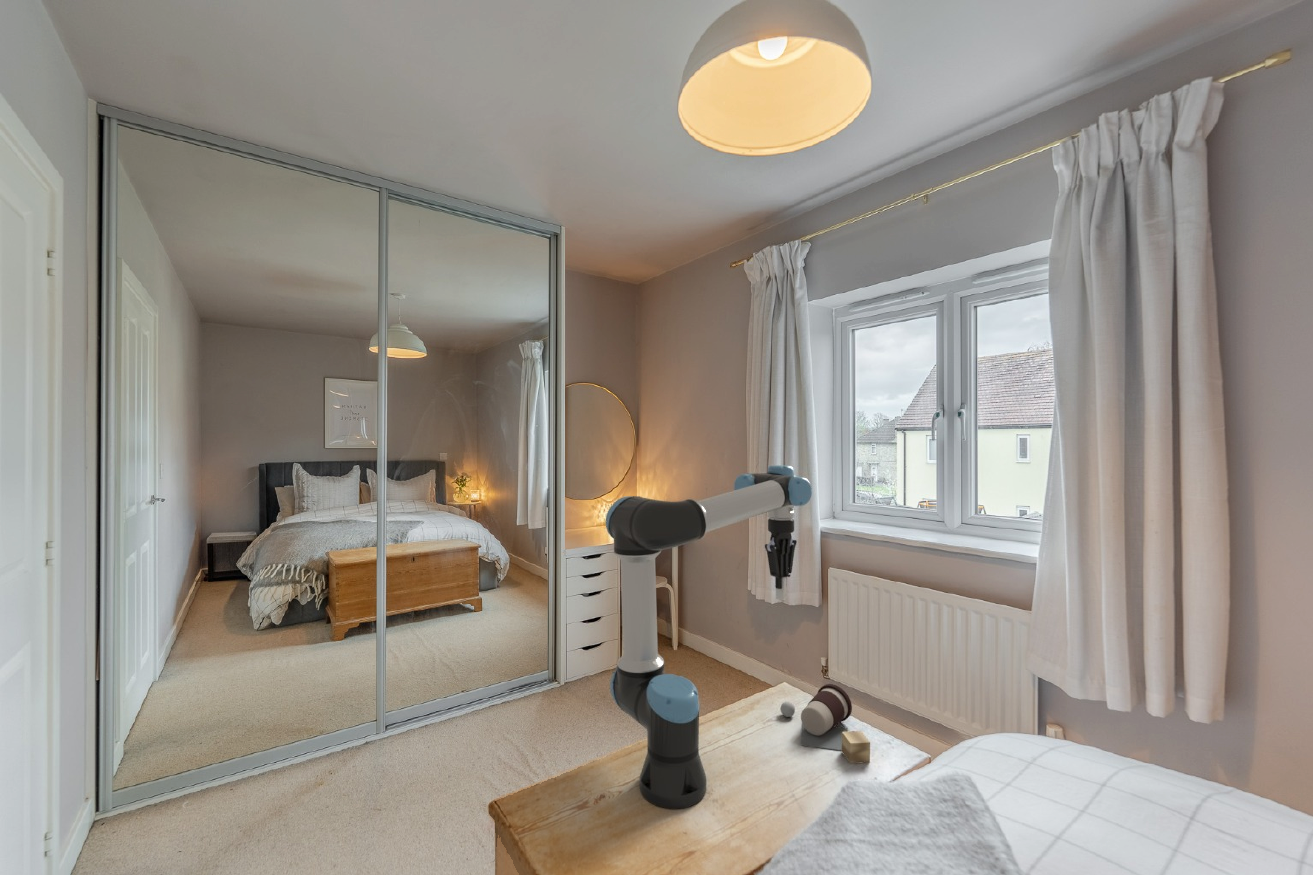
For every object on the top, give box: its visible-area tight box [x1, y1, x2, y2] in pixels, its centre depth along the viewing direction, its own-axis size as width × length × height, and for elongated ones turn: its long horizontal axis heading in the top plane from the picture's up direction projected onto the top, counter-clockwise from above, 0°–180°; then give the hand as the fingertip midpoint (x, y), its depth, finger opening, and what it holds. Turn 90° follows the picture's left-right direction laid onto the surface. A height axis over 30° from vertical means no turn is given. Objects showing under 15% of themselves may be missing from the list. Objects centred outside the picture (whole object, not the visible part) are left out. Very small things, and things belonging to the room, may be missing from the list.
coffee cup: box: [800, 683, 853, 736], centre depth 156 cm, size 10×10×15 cm
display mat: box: [801, 723, 849, 752], centre depth 151 cm, size 12×12×1 cm
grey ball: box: [780, 701, 796, 718], centre depth 162 cm, size 4×4×4 cm
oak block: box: [841, 730, 871, 764], centre depth 141 cm, size 5×5×5 cm
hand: (781, 599), depth 165 cm, fingers closed
